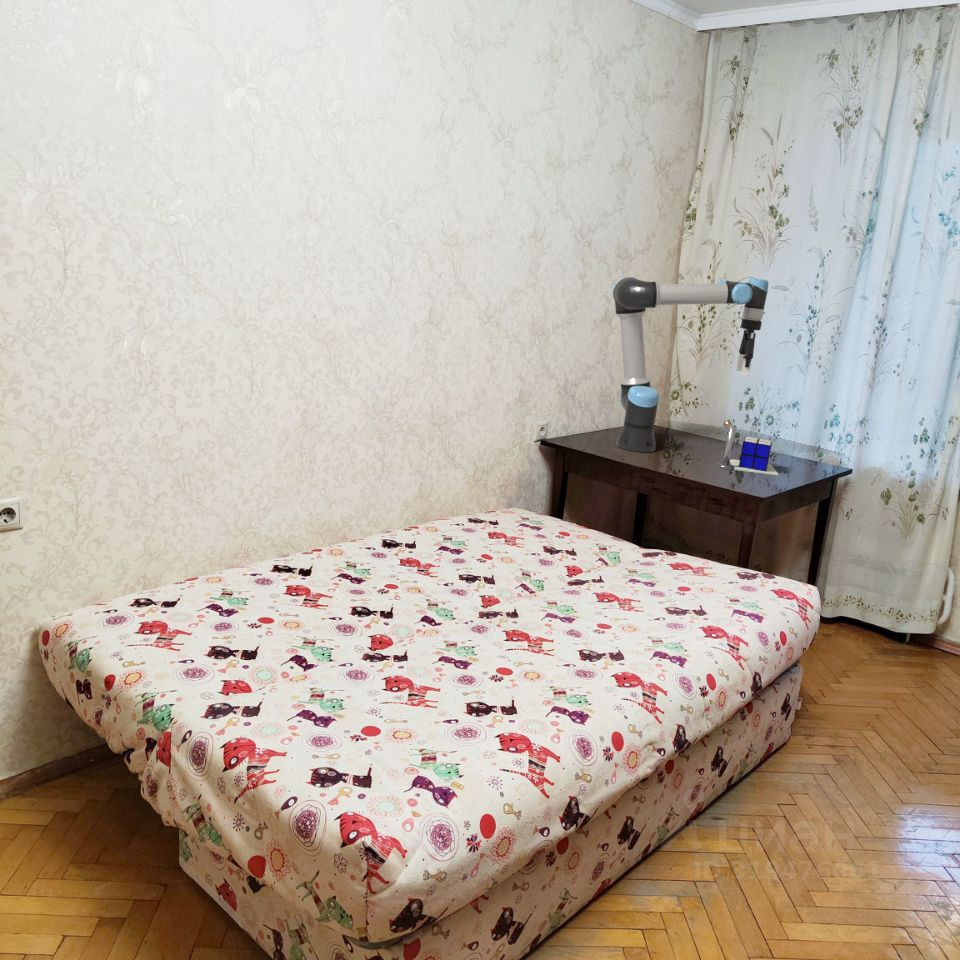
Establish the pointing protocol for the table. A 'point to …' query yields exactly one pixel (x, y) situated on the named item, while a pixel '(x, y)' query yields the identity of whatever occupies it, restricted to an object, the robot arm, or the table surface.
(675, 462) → the table surface
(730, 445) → the hook post
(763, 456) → the puzzle cube
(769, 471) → the sage mat
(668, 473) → the table surface
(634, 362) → the robot arm
